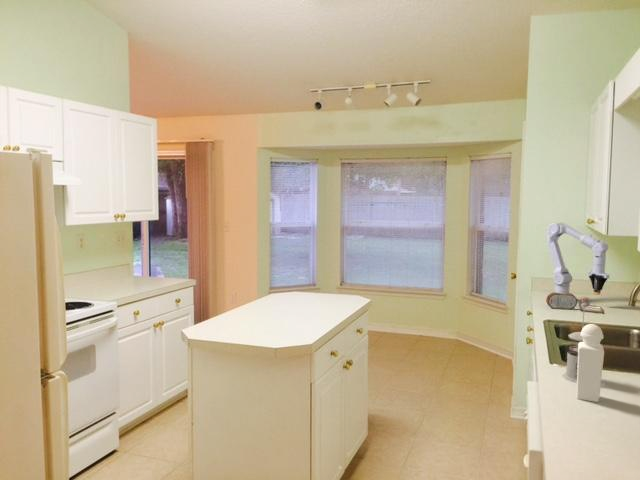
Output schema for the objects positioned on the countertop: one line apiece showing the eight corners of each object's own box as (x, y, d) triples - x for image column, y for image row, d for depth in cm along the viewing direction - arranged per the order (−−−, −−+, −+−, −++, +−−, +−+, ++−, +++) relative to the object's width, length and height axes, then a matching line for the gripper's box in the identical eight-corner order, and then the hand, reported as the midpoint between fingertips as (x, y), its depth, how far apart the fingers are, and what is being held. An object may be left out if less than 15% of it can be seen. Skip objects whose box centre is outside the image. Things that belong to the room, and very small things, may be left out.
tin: (575, 308, 268) (576, 292, 267) (577, 310, 264) (578, 294, 264) (545, 307, 269) (546, 291, 268) (547, 308, 266) (548, 293, 265)
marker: (593, 293, 274) (594, 276, 273) (600, 293, 273) (601, 277, 272) (593, 294, 272) (594, 277, 271) (600, 294, 270) (601, 278, 269)
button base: (578, 304, 277) (579, 299, 277) (589, 305, 275) (589, 300, 275) (578, 306, 273) (579, 300, 273) (589, 307, 271) (589, 301, 270)
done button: (579, 301, 277) (579, 296, 276) (588, 302, 275) (588, 297, 275) (579, 303, 273) (580, 298, 273) (589, 304, 271) (589, 299, 271)
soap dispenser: (574, 391, 154) (579, 320, 152) (599, 395, 151) (604, 323, 149) (575, 399, 148) (580, 325, 146) (600, 403, 145) (606, 328, 143)
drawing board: (580, 306, 272) (580, 304, 272) (601, 308, 268) (601, 307, 268) (580, 311, 261) (580, 309, 261) (602, 313, 257) (603, 311, 257)
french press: (555, 374, 169) (560, 300, 166) (585, 371, 172) (590, 299, 169) (577, 385, 159) (582, 306, 157) (608, 382, 162) (614, 305, 160)
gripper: (583, 262, 277) (581, 286, 279) (601, 266, 263) (599, 292, 264) (595, 262, 278) (593, 286, 280) (613, 266, 264) (611, 292, 265)
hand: (597, 289), depth 272 cm, fingers closed on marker, 3 cm apart
